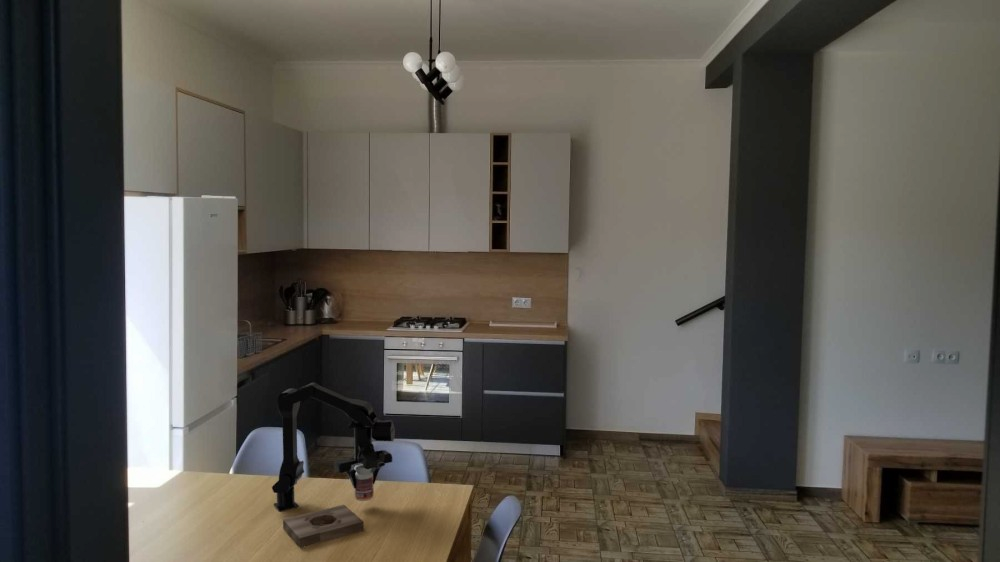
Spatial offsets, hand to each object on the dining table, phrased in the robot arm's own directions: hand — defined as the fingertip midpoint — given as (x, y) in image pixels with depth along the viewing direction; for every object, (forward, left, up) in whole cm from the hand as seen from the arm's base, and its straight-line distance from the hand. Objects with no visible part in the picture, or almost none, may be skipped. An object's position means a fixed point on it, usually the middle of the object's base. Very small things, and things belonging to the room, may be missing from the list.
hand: (363, 486), depth 229 cm
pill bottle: (0, 0, -4) cm, 4 cm away
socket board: (+8, -17, -8) cm, 20 cm away
